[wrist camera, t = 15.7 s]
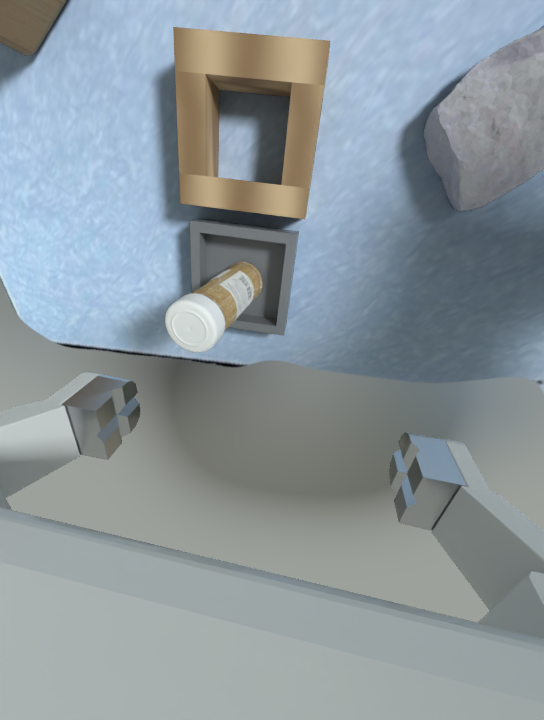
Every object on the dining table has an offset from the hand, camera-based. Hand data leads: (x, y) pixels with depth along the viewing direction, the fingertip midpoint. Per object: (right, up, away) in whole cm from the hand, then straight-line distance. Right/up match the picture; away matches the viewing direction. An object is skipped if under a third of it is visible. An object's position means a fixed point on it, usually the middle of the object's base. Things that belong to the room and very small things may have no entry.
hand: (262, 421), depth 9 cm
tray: (-3, +12, +26) cm, 29 cm away
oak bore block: (-1, +23, +20) cm, 30 cm away
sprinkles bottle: (-3, +11, +26) cm, 28 cm away
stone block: (+20, +23, +17) cm, 35 cm away
